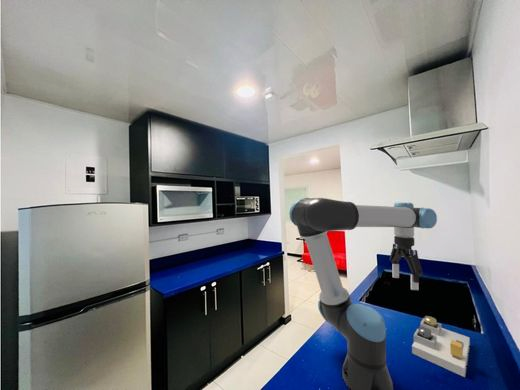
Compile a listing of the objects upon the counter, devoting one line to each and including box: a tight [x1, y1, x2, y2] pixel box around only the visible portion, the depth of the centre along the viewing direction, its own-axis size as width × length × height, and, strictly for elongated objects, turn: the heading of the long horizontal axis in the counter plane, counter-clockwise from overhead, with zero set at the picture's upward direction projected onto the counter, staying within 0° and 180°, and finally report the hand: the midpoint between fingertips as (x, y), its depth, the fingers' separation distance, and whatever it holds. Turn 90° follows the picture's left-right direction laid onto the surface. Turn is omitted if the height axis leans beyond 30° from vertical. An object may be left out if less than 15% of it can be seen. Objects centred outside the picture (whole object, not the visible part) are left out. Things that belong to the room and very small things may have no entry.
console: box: [411, 317, 471, 378], centre depth 85 cm, size 24×15×6 cm, turn 132°
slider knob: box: [450, 340, 463, 359], centre depth 77 cm, size 3×3×4 cm
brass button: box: [424, 315, 438, 328], centre depth 93 cm, size 4×4×3 cm
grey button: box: [418, 326, 431, 340], centre depth 85 cm, size 4×4×3 cm
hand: (404, 283), depth 93 cm, fingers open, 13 cm apart
